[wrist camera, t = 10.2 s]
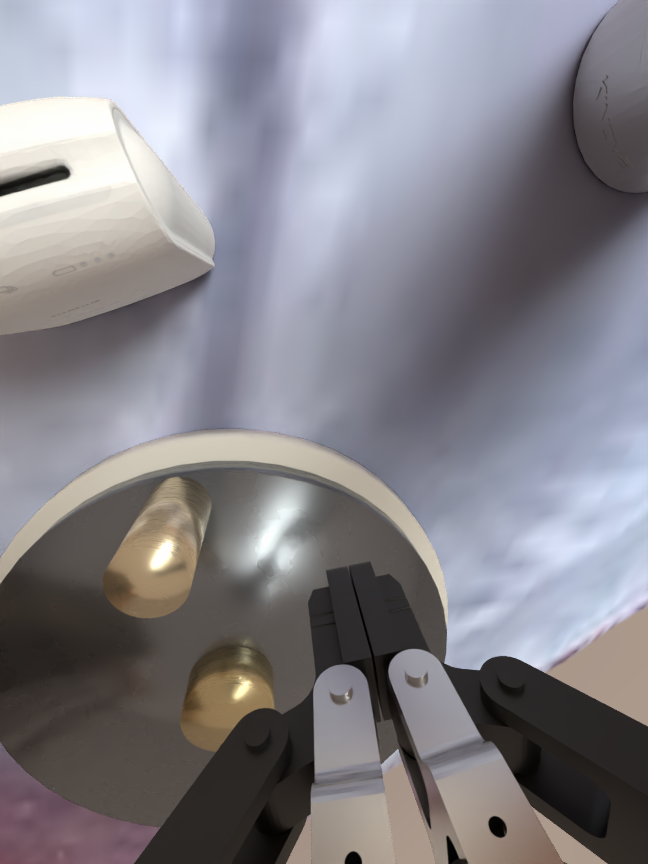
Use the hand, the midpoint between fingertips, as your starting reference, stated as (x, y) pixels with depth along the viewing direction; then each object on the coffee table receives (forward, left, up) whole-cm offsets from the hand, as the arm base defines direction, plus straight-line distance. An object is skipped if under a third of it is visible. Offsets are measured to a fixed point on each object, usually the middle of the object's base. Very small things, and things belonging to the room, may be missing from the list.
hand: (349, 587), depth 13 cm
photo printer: (+2, -14, -12) cm, 19 cm away
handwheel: (+11, +8, -10) cm, 17 cm away
